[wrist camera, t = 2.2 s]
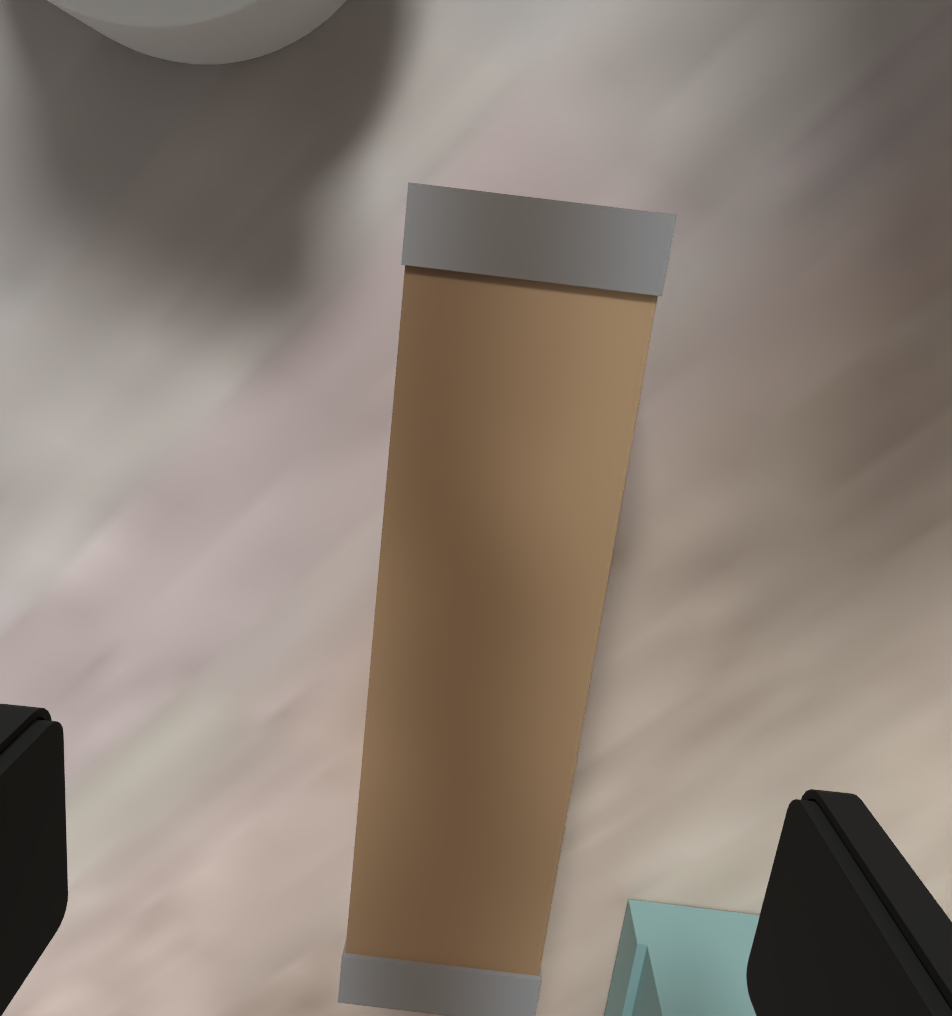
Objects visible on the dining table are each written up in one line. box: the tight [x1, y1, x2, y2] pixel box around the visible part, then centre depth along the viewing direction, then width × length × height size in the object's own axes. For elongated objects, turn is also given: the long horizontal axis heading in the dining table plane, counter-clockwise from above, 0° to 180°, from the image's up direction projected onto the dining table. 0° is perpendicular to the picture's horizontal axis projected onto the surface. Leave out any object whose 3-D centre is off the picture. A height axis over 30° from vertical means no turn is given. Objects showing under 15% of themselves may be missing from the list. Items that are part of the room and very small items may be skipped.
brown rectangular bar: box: [338, 183, 676, 1016], centre depth 17 cm, size 4×16×5 cm, turn 173°
